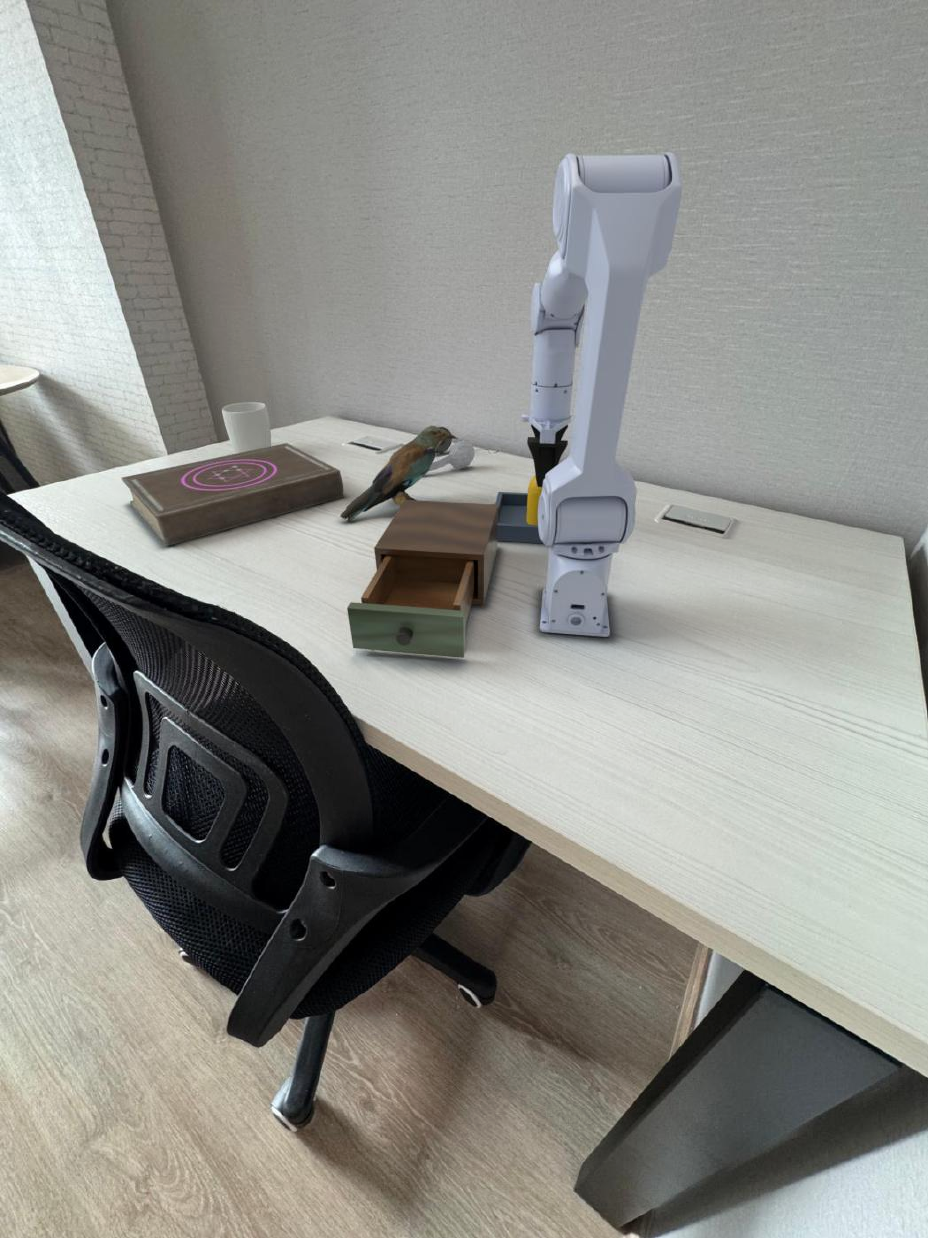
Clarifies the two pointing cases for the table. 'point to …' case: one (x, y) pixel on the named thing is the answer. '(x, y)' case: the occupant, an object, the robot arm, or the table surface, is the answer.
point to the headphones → (453, 453)
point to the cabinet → (445, 535)
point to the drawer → (415, 606)
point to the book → (231, 491)
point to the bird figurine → (400, 472)
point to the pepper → (533, 502)
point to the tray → (515, 519)
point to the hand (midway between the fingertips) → (545, 477)
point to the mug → (247, 426)
